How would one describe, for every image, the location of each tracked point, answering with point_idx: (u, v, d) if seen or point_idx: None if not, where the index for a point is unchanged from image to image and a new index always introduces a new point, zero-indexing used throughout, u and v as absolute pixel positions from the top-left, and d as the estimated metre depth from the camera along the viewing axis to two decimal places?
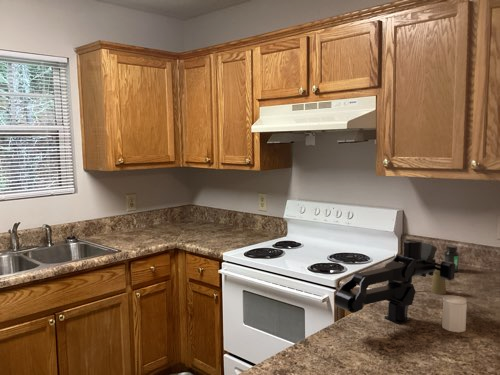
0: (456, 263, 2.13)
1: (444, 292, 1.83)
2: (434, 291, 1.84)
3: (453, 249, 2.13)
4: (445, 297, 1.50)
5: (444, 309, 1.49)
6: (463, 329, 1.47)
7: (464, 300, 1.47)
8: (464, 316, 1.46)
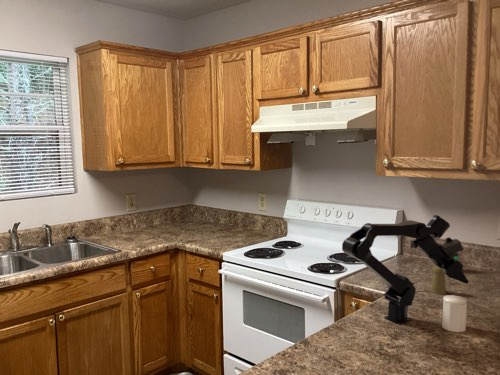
0: None
1: (444, 292, 1.83)
2: (434, 291, 1.84)
3: None
4: (445, 297, 1.50)
5: (444, 309, 1.49)
6: (463, 329, 1.47)
7: (464, 300, 1.47)
8: (464, 316, 1.46)
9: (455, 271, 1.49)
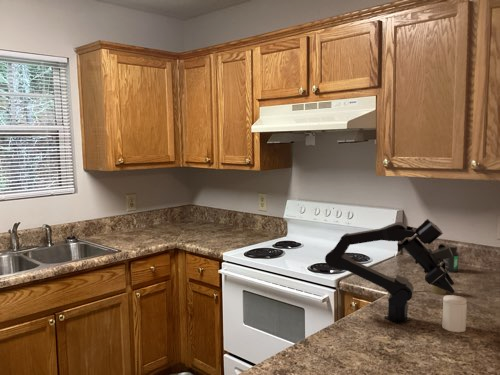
0: (456, 263, 2.13)
1: (444, 292, 1.83)
2: (434, 291, 1.84)
3: (453, 249, 2.13)
4: (445, 297, 1.50)
5: (444, 309, 1.49)
6: (463, 329, 1.47)
7: (464, 300, 1.47)
8: (464, 316, 1.46)
9: (435, 278, 1.42)
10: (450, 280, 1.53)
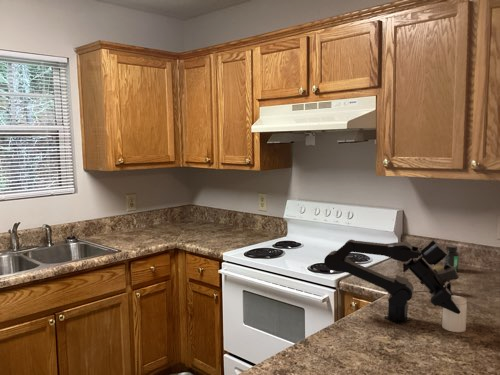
0: (456, 263, 2.13)
1: None
2: None
3: (453, 249, 2.13)
4: None
5: (444, 309, 1.49)
6: (463, 329, 1.47)
7: (464, 300, 1.47)
8: (464, 316, 1.46)
9: (441, 300, 1.42)
10: None
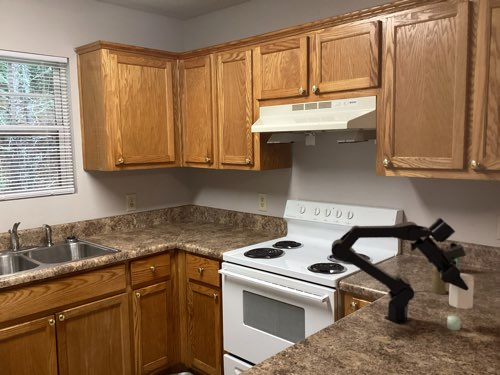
0: (456, 263, 2.13)
1: (444, 292, 1.83)
2: (434, 291, 1.84)
3: None
4: None
5: (452, 286, 1.50)
6: (471, 305, 1.48)
7: (471, 277, 1.49)
8: (472, 292, 1.48)
9: (451, 277, 1.42)
10: None
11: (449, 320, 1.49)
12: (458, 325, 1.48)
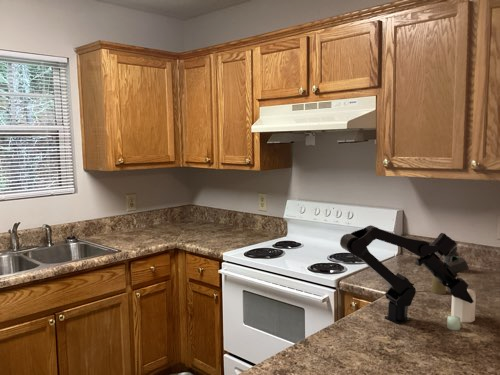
0: None
1: (444, 292, 1.83)
2: (434, 291, 1.84)
3: (453, 249, 2.13)
4: None
5: (456, 302, 1.55)
6: (473, 319, 1.55)
7: (473, 291, 1.56)
8: (474, 306, 1.55)
9: (460, 291, 1.48)
10: None
11: (449, 320, 1.49)
12: (458, 325, 1.48)
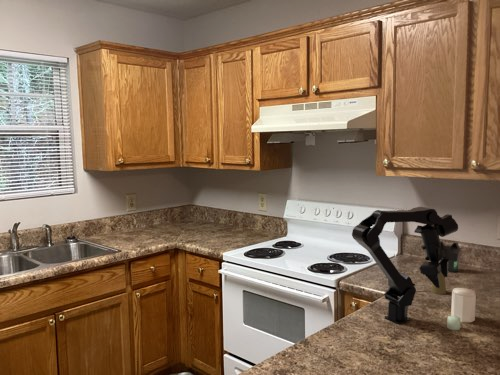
0: (456, 263, 2.13)
1: (444, 292, 1.83)
2: (434, 291, 1.84)
3: None
4: (455, 290, 1.57)
5: (456, 302, 1.55)
6: (473, 319, 1.55)
7: (473, 291, 1.56)
8: (474, 306, 1.55)
9: (427, 272, 1.52)
10: (445, 273, 1.63)
11: (449, 320, 1.49)
12: (458, 325, 1.48)
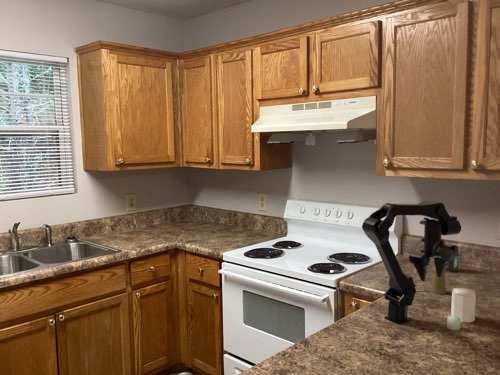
0: (456, 263, 2.13)
1: (444, 292, 1.83)
2: (434, 291, 1.84)
3: None
4: (455, 290, 1.57)
5: (456, 302, 1.55)
6: (473, 319, 1.55)
7: (473, 291, 1.56)
8: (474, 306, 1.55)
9: (414, 261, 1.55)
10: (439, 273, 1.63)
11: (449, 320, 1.49)
12: (458, 325, 1.48)
